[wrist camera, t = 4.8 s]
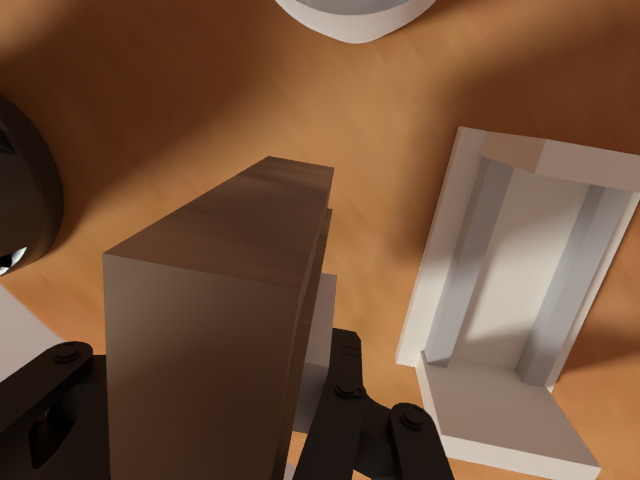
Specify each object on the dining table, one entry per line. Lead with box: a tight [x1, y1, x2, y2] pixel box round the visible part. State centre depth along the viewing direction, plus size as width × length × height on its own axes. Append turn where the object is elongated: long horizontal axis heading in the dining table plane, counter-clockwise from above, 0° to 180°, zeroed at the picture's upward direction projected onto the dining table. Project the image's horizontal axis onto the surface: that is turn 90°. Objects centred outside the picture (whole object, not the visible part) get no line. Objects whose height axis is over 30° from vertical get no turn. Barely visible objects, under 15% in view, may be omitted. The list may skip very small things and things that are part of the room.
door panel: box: [103, 156, 334, 480], centre depth 13 cm, size 3×12×12 cm, turn 171°
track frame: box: [395, 126, 640, 480], centre depth 23 cm, size 12×18×9 cm, turn 171°
